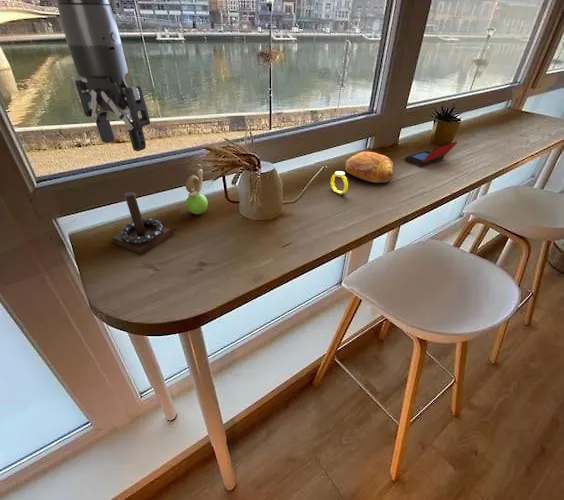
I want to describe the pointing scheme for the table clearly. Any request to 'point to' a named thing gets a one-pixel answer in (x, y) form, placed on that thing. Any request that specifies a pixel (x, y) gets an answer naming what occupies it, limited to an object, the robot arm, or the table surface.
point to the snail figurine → (196, 194)
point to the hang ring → (142, 239)
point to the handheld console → (430, 155)
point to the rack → (139, 228)
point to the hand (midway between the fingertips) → (124, 145)
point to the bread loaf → (370, 167)
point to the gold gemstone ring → (342, 175)
